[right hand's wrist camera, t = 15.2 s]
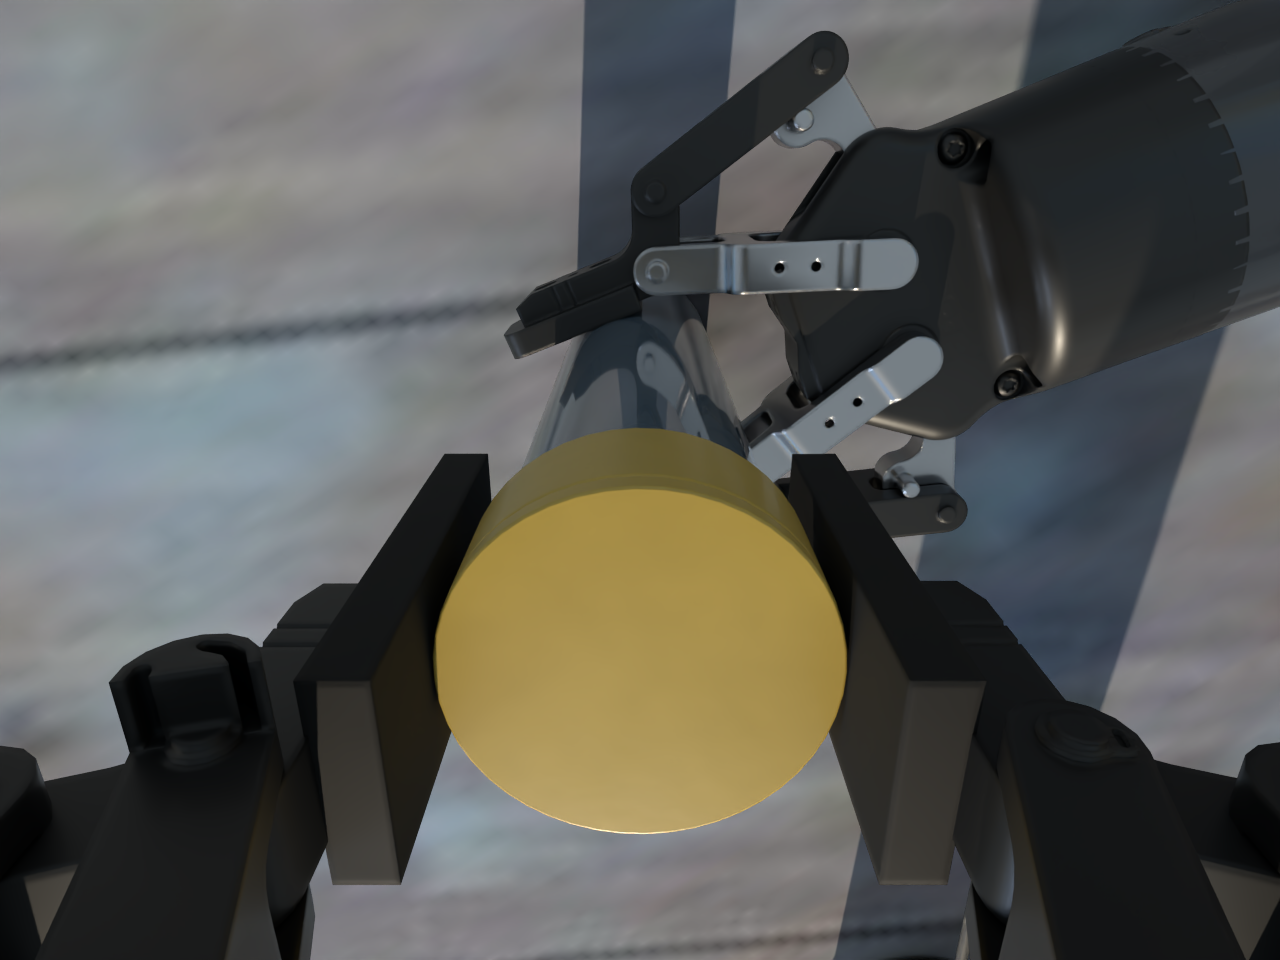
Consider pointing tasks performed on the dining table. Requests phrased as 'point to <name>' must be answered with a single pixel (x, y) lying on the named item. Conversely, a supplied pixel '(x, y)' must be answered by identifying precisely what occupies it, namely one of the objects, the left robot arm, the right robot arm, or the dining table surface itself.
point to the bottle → (642, 381)
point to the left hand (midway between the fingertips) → (554, 426)
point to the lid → (640, 636)
